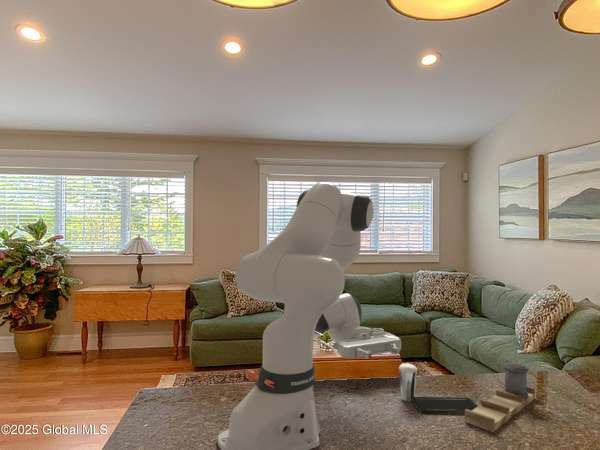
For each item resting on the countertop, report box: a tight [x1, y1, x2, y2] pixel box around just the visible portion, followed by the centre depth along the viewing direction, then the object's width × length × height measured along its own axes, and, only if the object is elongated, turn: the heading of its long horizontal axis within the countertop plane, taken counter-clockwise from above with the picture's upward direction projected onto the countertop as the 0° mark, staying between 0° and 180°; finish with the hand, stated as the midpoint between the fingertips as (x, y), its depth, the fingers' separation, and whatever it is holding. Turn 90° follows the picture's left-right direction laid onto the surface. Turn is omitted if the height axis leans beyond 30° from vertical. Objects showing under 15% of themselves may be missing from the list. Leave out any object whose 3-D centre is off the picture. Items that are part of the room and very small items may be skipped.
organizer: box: [464, 385, 536, 433], centre depth 101 cm, size 26×6×3 cm, turn 132°
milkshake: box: [398, 361, 421, 403], centre depth 107 cm, size 4×5×10 cm
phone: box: [412, 396, 479, 415], centre depth 102 cm, size 8×1×15 cm
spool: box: [502, 362, 529, 398], centre depth 107 cm, size 6×6×7 cm
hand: (383, 353), depth 118 cm, fingers open, 8 cm apart
